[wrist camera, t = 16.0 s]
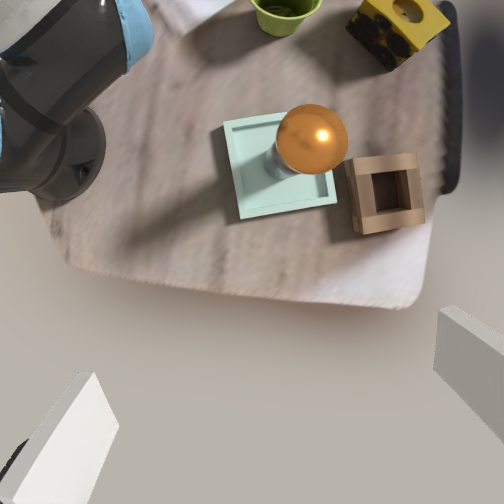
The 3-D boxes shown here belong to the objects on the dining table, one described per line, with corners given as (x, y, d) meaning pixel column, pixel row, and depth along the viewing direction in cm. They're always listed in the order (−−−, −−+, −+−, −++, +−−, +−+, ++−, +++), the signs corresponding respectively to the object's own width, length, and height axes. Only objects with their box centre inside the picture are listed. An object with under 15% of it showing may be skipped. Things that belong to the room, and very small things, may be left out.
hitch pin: (264, 186, 42) (284, 179, 23) (256, 146, 41) (271, 108, 22) (303, 179, 42) (353, 168, 23) (296, 140, 41) (339, 101, 22)
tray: (240, 217, 44) (240, 219, 42) (223, 124, 41) (222, 121, 39) (333, 202, 44) (337, 202, 42) (316, 111, 41) (319, 108, 39)
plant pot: (253, 51, 39) (257, 23, 31) (239, 2, 38) (240, -29, 29) (316, 43, 39) (331, 16, 31) (299, -4, 37) (309, -35, 29)
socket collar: (353, 230, 45) (363, 234, 41) (343, 161, 43) (352, 158, 39) (412, 220, 45) (425, 223, 41) (403, 154, 43) (416, 152, 39)
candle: (421, 45, 39) (453, 23, 30) (390, 74, 40) (421, 53, 31) (378, 2, 38) (402, -26, 28) (342, 28, 39) (364, -3, 29)
